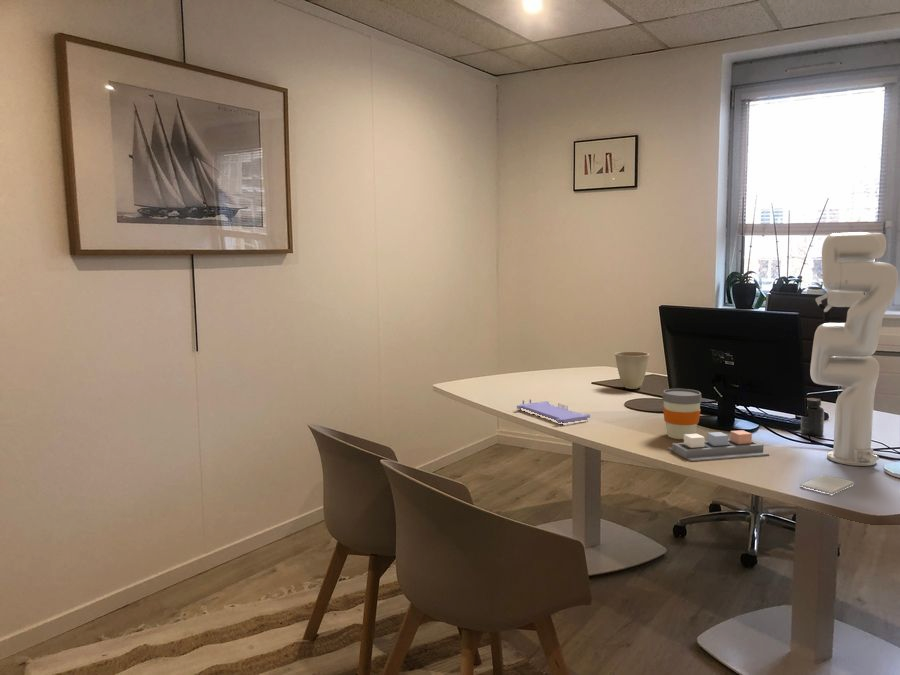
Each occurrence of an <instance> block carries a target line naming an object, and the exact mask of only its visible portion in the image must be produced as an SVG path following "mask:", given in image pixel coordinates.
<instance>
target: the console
mask: <svg viewBox="0 0 900 675" xmlns="http://www.w3.org/2000/svg"><path fill="white" fill-rule="evenodd" d="M764 447H765V446H764V444H762V443H760V442H757V441H754V440H753V439H752V442H751V443H747V444H737V443H735V442H733V441H730V438H728V445H721V446H714V445H712V444H710V443H708V442H707V440H705V443H704V447H695V448H691V447H689V446H687V445H685V444H684V442H672V443H671V446H668V447H666V448H668V450H669V451H671V452H672V451H673V453H674V452H675V454H676V453H677V454H676V455H678V456H680V457H682V458H683V457H684V459H685V458H686V459H685V460H687V459H688V460H687V461H689V460H690V461H689V462H691V461H693V462H700V461H699V460H706V461H715V460H716V461H717V460H727V459H729V460H731V459H742V458H743V459H744V458H753V457H765V456H766V457H767V456H770V453H768V452H766V451H764Z"/></svg>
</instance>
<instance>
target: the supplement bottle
mask: <svg viewBox="0 0 900 675" xmlns="http://www.w3.org/2000/svg"><path fill="white" fill-rule="evenodd" d="M806 398H807V407H808V417H802V416H801V415H800V433H801V434H802V435H803V434H804V436H807V435H809V436H808V437H821V436H823V435H824V431H825V430H824V425H825V423H824V422H825V410H824V408H823V407H822V400H821V398H815V397H806Z"/></svg>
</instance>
